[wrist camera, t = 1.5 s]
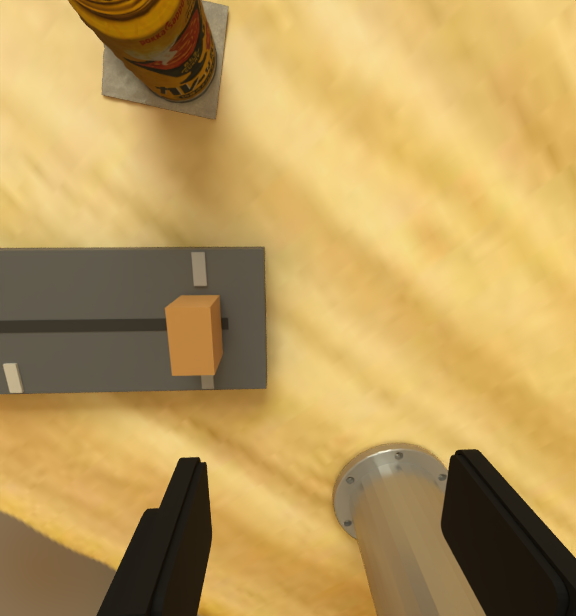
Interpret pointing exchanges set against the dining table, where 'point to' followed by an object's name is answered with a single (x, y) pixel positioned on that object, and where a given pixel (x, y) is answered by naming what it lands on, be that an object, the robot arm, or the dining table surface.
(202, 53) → the condiment
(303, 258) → the dining table surface
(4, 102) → the dining table surface
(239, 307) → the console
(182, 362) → the fader tab
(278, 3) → the dining table surface
